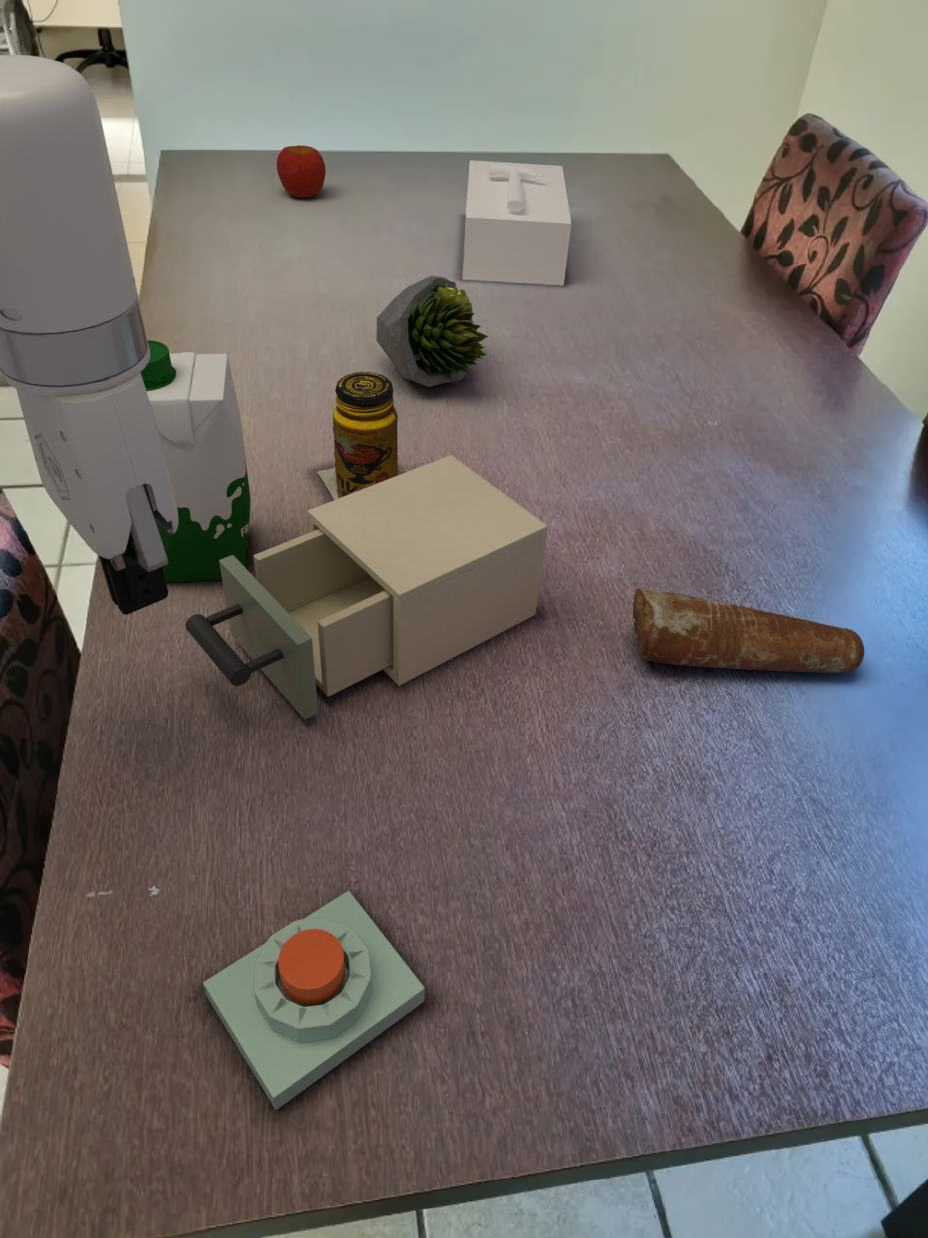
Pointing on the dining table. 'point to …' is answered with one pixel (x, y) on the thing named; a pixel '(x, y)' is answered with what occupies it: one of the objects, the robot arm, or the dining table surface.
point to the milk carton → (200, 460)
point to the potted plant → (430, 332)
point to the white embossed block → (516, 223)
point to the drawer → (301, 620)
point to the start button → (311, 966)
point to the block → (313, 1033)
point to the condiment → (362, 434)
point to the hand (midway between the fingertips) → (141, 599)
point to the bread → (738, 636)
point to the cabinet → (440, 558)
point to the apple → (301, 170)
